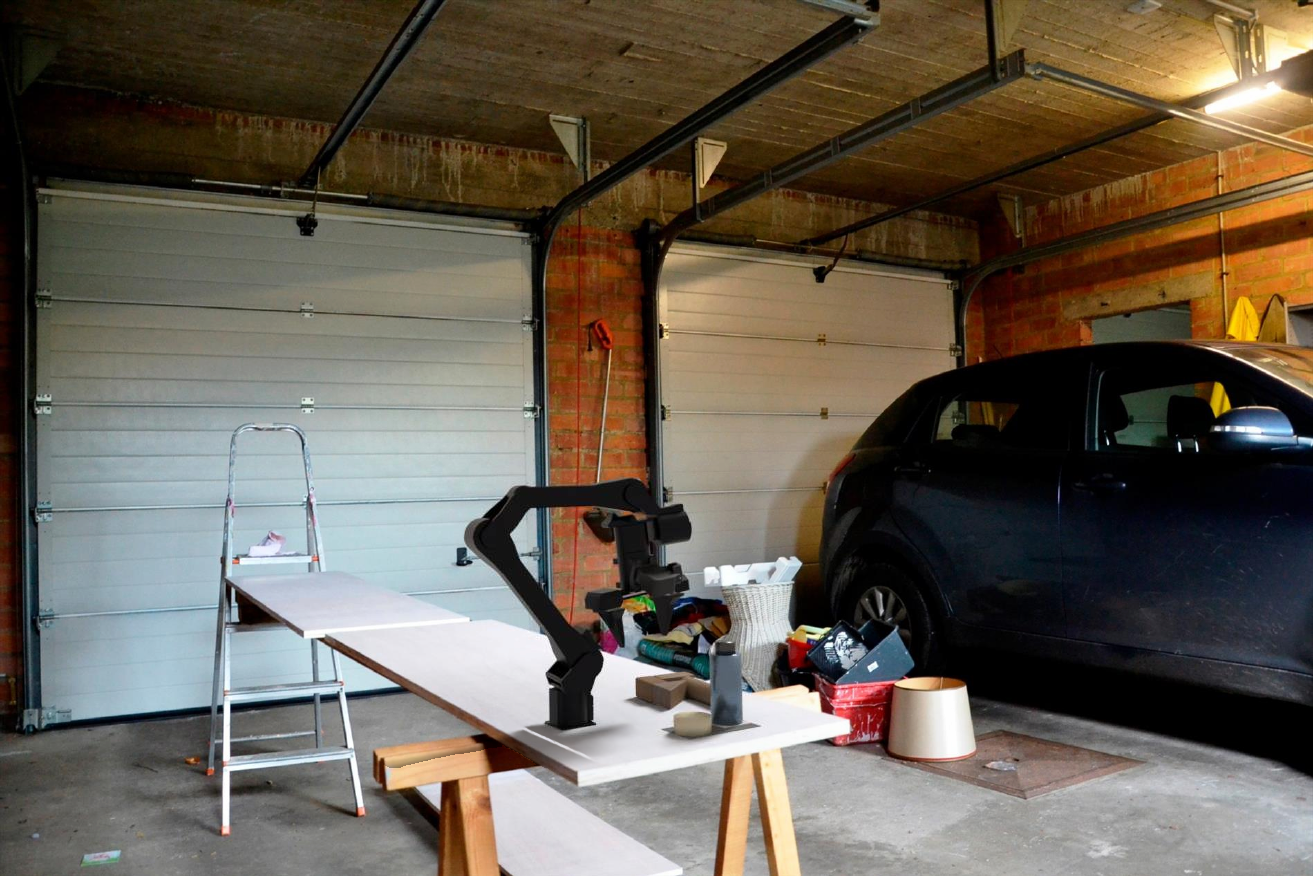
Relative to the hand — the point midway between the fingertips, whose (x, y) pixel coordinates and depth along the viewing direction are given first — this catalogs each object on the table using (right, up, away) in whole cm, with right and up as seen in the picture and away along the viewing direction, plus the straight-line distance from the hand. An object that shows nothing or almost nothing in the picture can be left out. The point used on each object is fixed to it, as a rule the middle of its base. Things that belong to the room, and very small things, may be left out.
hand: (643, 641), depth 171 cm
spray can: (+14, -12, -7) cm, 19 cm away
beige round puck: (+8, -12, -13) cm, 19 cm away
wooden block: (+3, -12, +18) cm, 22 cm away
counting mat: (+11, -12, -10) cm, 19 cm away
